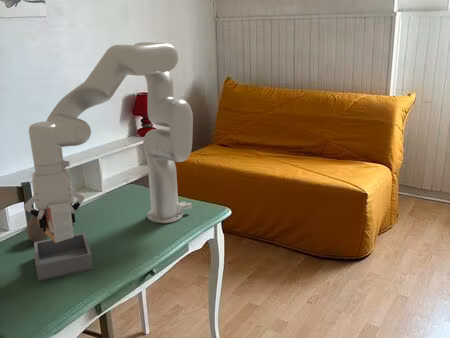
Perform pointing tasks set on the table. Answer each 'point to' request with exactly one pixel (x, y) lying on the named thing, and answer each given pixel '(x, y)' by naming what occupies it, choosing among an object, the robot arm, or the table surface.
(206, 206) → the table surface
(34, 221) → the vase
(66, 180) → the robot arm
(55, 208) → the small box
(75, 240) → the bin
